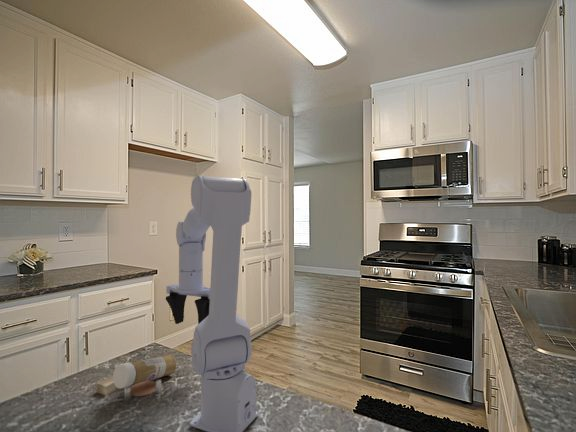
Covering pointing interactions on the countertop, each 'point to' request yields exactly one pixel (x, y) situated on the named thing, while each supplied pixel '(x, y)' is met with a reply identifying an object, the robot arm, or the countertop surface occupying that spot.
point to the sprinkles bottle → (143, 370)
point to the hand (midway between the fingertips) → (190, 324)
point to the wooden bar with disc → (136, 390)
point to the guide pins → (128, 389)
